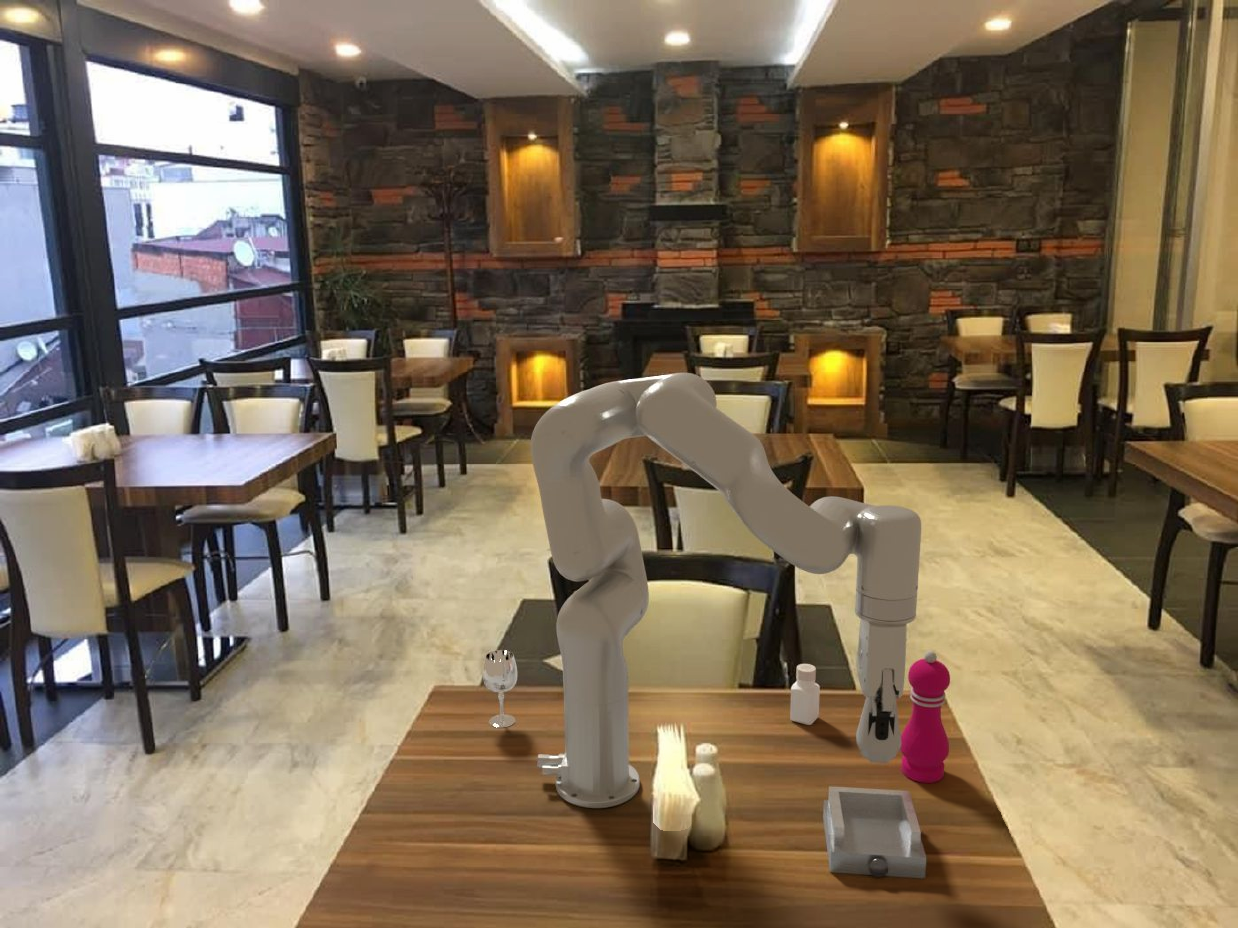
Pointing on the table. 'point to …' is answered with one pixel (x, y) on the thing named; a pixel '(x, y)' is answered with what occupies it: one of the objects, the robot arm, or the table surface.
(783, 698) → the table surface
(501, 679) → the wineglass
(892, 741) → the salt shaker
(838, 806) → the grey square tray
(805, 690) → the salt shaker
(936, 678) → the pepper mill
